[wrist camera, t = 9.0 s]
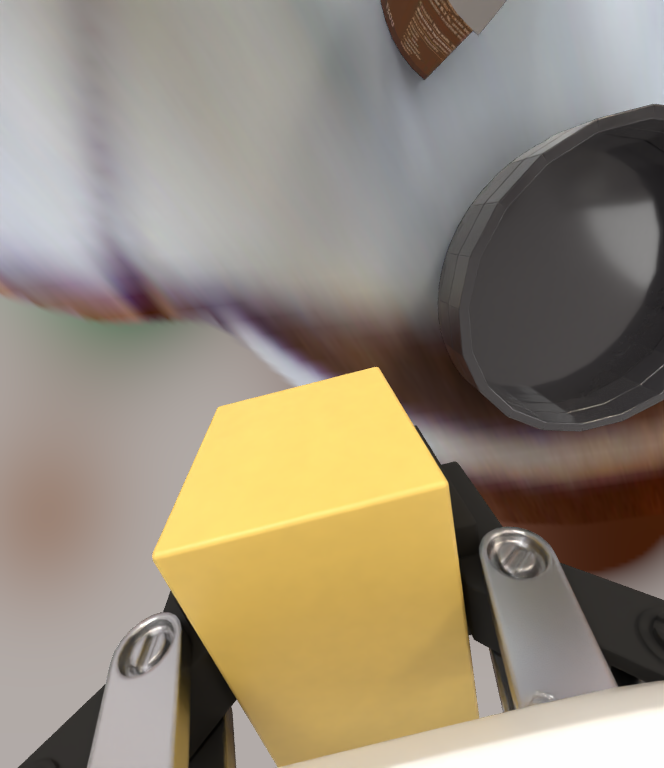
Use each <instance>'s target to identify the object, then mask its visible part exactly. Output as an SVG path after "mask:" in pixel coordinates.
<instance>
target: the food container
mask: <svg viewBox="0 0 664 768" xmlns="http://www.w3.org/2000/svg"><path fill="white" fill-rule="evenodd" d="M506 1H507V0H381V5H382V9H383V13H384V17H385V21H386V23H387V26H388V28H389V31H390V34H391V36H392V39H393V41H394V42H395V44H396V46H397V48H398V49H399V51H400V53H401V55H402V56H403V57H404V59H405V60H406V61H407V63H408V64H409V65H410V66H411V68H412V69H413V70H414V71H415V72H416V73H418V74H419V75H420V76H421V77H422V78H423V79H424V80H425V79H426V78H427V77H428V76H429V75H430V74H431V73H432V72H433V71H434V70H435V69H436V68H437V67H438V66H439V65H440V64H441V63H442V62H443V61H444V60H445V59H446V58H447V57H448V56H449V55H450V54H451V53H452V52H453V51H454V50H455V49H456V48H457V46H458V45H459V44H460V43H461V42H462V41H463V40H464V39H465V38H466V37H467V36H468V35H469V34H470V33H471V32H472V31H474V32H475V33H476V34H477V35H479V34H480V33H481V32H482V30H483V29H484V28H485V27H486V25H487V24H488V23H489V22H490V21H491V19H492V18H493V17H494V16H495V14H496V13H497V12H498V11H499V9H500V8H501V7H502V6H503V5H504V3H505V2H506Z"/></svg>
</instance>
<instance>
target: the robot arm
mask: <svg viewBox="0 0 664 768" xmlns="http://www.w3.org/2000/svg"><path fill="white" fill-rule="evenodd" d="M414 427H415V428H416V430H417V432H418V433H419V435H420V437H421V438H422V440H423V442H424V443H425V445H426V447H427V448H428V450H429V452H430V453H431V455H432V457H433V458H434V460H435V461H436V463H437V465H438V466H439V468H440V470H441V471H442V473H443V475H444V476H445V478H446V480H447V481H448V483H449V491H450V498H451V506H452V513H453V521H454V529H455V536H456V544H457V552H458V559H459V567H460V574H461V582H462V590H463V597H464V605H465V612H466V620H467V628H468V635H472V636H473V638H474V640H476V641H478V642H480V643H481V644H483V645H485V646H487V647H489V651H490V655H491V660H492V664H493V669H494V673H495V677H496V682H497V687H498V691H499V696H500V700H501V705H502V709H503V713H500V714H495V715H491V716H487V717H483V718H479V719H474V720H470V721H466V722H462V723H458V724H454V725H449V726H445V727H441V728H437V729H433V730H429V731H424V732H420V733H416V734H412V735H408V736H404V737H400V738H395V739H391V740H387V741H383V742H379V743H375V744H371V745H367V746H363V747H359V748H355V749H351V750H347V751H342V752H338V753H334V754H330V755H326V756H322V757H318V758H314V759H310V760H306V761H302V762H298V763H294V764H290V765H286V766H282V767H278V768H664V600H662V599H659V598H657V597H654V596H651V595H648V594H645V593H643V592H640V591H637V590H634V589H632V588H629V587H626V586H623V585H621V584H618V583H615V582H612V581H609V580H607V579H604V578H601V577H598V576H596V575H593V574H590V573H587V572H585V571H582V570H579V569H576V568H573V567H571V566H568V565H565V564H562V563H560V562H559V561H558V559H557V557H556V555H555V552H554V551H553V549H552V548H551V546H550V545H549V544H548V543H547V542H546V541H545V540H544V539H542V538H541V537H540V536H538V535H537V534H535V533H533V532H531V531H529V530H525V529H522V528H518V527H502V525H501V524H500V522H499V521H498V519H497V518H496V517H495V515H494V514H493V512H492V511H491V509H490V508H489V507H488V505H487V504H486V502H485V501H484V499H483V498H482V497H481V495H480V494H479V492H478V491H477V489H476V488H475V487H474V485H473V484H472V482H471V481H470V479H469V478H468V477H467V475H466V474H465V472H464V471H463V469H462V468H461V467H460V465H459V464H458V463H457V462H451V463H447V464H443V465H441V464H440V462H439V461H438V459H437V458H436V456H435V454H434V453H433V451H432V449H431V448H430V446H429V445H428V443H427V441H426V440H425V438H424V437H423V435H422V433H421V432H420V430H419V428H418V427H417V426H414ZM236 700H237V699H236V697H235V695H234V694H233V692H232V690H231V689H230V687H229V685H228V684H227V682H226V680H225V679H224V677H223V676H222V674H221V672H220V671H219V669H218V667H217V666H216V664H215V662H214V661H213V659H212V657H211V656H210V654H209V652H208V651H207V649H206V647H205V646H204V644H203V642H202V641H201V639H200V637H199V636H198V634H197V632H196V631H195V629H194V628H193V626H192V624H191V623H190V621H189V619H188V618H187V616H186V614H185V613H184V611H183V609H182V608H181V606H180V604H179V603H178V601H177V599H176V598H175V596H174V594H173V593H172V591H170V594H169V597H168V600H167V603H166V606H165V608H164V611H163V612H161V613H157V614H154V615H151V616H150V617H148V618H146V619H144V620H143V621H141V622H139V623H138V624H137V625H136V626H135V627H133V628H132V629H131V630H130V631H129V632H128V633H127V635H126V636H125V637H124V638H123V639H122V640H121V642H120V644H119V645H118V647H117V648H116V650H115V652H114V655H113V657H112V660H111V663H110V667H109V672H108V676H107V680H106V684H105V685H104V686H103V687H102V688H101V689H100V690H99V691H98V692H97V693H96V694H95V695H94V696H93V697H91V699H89V700H88V701H87V702H86V703H85V704H84V705H83V706H82V707H81V708H80V709H79V710H78V711H77V712H76V713H75V714H74V715H73V716H72V717H71V718H69V719H68V720H67V721H66V722H65V723H64V724H63V725H62V726H61V727H60V728H59V729H58V730H57V731H56V732H55V733H54V734H53V735H52V736H51V737H50V738H49V739H48V740H46V741H45V742H44V743H43V744H42V745H41V746H40V747H39V748H38V749H37V750H36V751H35V752H34V753H33V754H32V755H31V756H30V757H29V758H28V759H27V760H26V761H25V762H24V763H22V764H21V765H20V766H19V767H18V768H236V759H235V744H234V730H233V714H232V708H231V706H232V705H233V703H234V702H235V701H236Z"/></svg>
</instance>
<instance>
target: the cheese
mask: <svg viewBox="0 0 664 768" xmlns="http://www.w3.org/2000/svg"><path fill="white" fill-rule="evenodd" d="M152 557H153V561H154V563H155V565H156V566H157V568H158V569H159V571H160V573H161V574H162V576H163V578H164V579H165V581H166V583H167V584H168V586H169V588H170V589H171V591H172V593H173V594H174V596H175V598H176V599H177V601H178V603H179V604H180V606H181V608H182V609H183V611H184V613H185V614H186V616H187V618H188V619H189V621H190V623H191V624H192V626H193V628H194V629H195V631H196V632H197V634H198V636H199V637H200V639H201V641H202V642H203V644H204V646H205V647H206V649H207V651H208V652H209V654H210V656H211V657H212V659H213V661H214V662H215V664H216V666H217V667H218V669H219V671H220V672H221V674H222V676H223V677H224V679H225V680H226V682H227V684H228V685H229V687H230V689H231V690H232V692H233V694H234V695H235V697H236V699H237V700H238V702H239V704H240V705H241V707H242V708H243V710H244V712H245V714H246V715H247V717H248V718H249V720H250V722H251V723H252V725H253V727H254V728H255V730H256V732H257V733H258V735H259V737H260V738H261V740H262V742H263V743H264V745H265V747H266V748H267V750H268V752H269V753H270V755H271V757H272V758H273V760H274V762H275V763H276V765H277V766H278V767H282V766H286V765H290V764H294V763H298V762H302V761H306V760H310V759H314V758H318V757H322V756H326V755H330V754H334V753H338V752H342V751H347V750H351V749H355V748H359V747H363V746H367V745H371V744H375V743H379V742H383V741H387V740H391V739H395V738H400V737H404V736H408V735H412V734H416V733H420V732H424V731H429V730H433V729H437V728H441V727H445V726H449V725H454V724H458V723H462V722H466V721H470V720H474V719H479V712H478V704H477V696H476V689H475V681H474V674H473V666H472V658H471V651H470V643H469V635H468V628H467V620H466V612H465V605H464V597H463V590H462V582H461V574H460V567H459V559H458V552H457V544H456V536H455V529H454V521H453V513H452V506H451V498H450V491H449V483H448V481H447V480H446V478H445V476H444V475H443V473H442V471H441V470H440V468H439V466H438V465H437V463H436V461H435V460H434V458H433V457H432V455H431V453H430V452H429V450H428V448H427V447H426V445H425V443H424V442H423V440H422V438H421V437H420V435H419V433H418V432H417V430H416V428H415V427H414V425H413V423H412V422H411V420H410V419H409V417H408V415H407V414H406V412H405V410H404V409H403V407H402V405H401V404H400V402H399V400H398V399H397V397H396V395H395V394H394V392H393V390H392V389H391V387H390V385H389V384H388V382H387V381H386V379H385V377H384V376H383V374H382V372H381V371H380V369H379V368H378V367H373V368H369V369H365V370H361V371H358V372H354V373H350V374H346V375H342V376H338V377H334V378H330V379H326V380H322V381H318V382H314V383H310V384H306V385H302V386H298V387H294V388H291V389H287V390H283V391H279V392H275V393H271V394H267V395H263V396H259V397H255V398H251V399H248V400H243V401H240V402H235V403H232V404H228V405H224V406H220V407H218V408H217V410H216V413H215V415H214V417H213V419H212V421H211V424H210V426H209V428H208V430H207V433H206V435H205V437H204V439H203V442H202V444H201V446H200V448H199V451H198V453H197V455H196V457H195V460H194V462H193V464H192V466H191V469H190V471H189V473H188V475H187V478H186V480H185V482H184V484H183V486H182V489H181V491H180V493H179V496H178V498H177V500H176V502H175V504H174V507H173V509H172V511H171V514H170V516H169V518H168V520H167V523H166V525H165V527H164V529H163V531H162V534H161V536H160V538H159V540H158V543H157V545H156V547H155V549H154V552H153V556H152Z"/></svg>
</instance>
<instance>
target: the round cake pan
mask: <svg viewBox="0 0 664 768" xmlns="http://www.w3.org/2000/svg"><path fill="white" fill-rule="evenodd" d="M438 315H439V324H440V329H441V334H442V338H443V341H444V344H445V347H446V350H447V352H448V354H449V356H450V358H451V360H452V362H453V364H454V365H455V366H456V368H457V369H458V371H459V373H460V374H461V376H462V377H463V378H465V379H466V380H467V381H468V382H469V383H470V384H471V385H472V386H473V387H474V388H476V389H477V390H478V391H479V392H480V393H481V394H482V395H483V396H484V397H485V398H487V399H488V400H489V401H490V402H491V403H492V404H493V405H494V406H496V407H497V408H498V409H499V410H500V411H501V412H502V413H503V414H505V415H506V416H507V417H509V418H511V419H514V420H517V421H519V422H522V423H525V424H527V425H530V426H533V427H535V428H538V429H541V430H557V431H585V430H589V429H593V428H597V427H601V426H605V425H609V424H613V423H617V422H621V421H624V420H626V419H628V418H630V417H632V416H633V415H635V414H637V413H639V412H641V411H643V410H645V409H647V408H649V407H651V406H653V405H655V404H657V403H659V402H661V401H663V399H664V105H660V104H651V105H647V106H643V107H639V108H636V109H632V110H628V111H624V112H620V113H616V114H612V115H608V116H605V117H601V118H597V119H594V120H592V121H589V122H586V123H584V124H581V125H578V126H576V127H573V128H570V129H568V130H565V131H562V132H560V133H557V134H555V135H553V136H552V137H550V138H549V139H547V140H546V141H544V142H542V143H540V144H538V145H536V146H534V147H532V148H531V149H529V150H528V151H526V152H525V153H523V154H522V155H520V156H519V157H517V158H516V159H515V160H513V161H512V162H511V163H510V164H509V165H507V166H506V167H505V168H504V169H503V170H502V171H500V172H499V173H498V174H497V175H496V176H495V177H494V178H493V179H492V180H491V182H490V183H489V184H488V185H487V186H486V187H485V188H484V189H483V190H482V191H481V193H480V194H479V195H478V197H477V198H476V199H475V201H474V202H473V203H472V205H471V206H470V207H469V209H468V211H467V212H466V214H465V216H464V217H463V219H462V221H461V222H460V224H459V226H458V228H457V230H456V232H455V234H454V237H453V239H452V241H451V243H450V245H449V248H448V251H447V254H446V258H445V261H444V264H443V268H442V273H441V278H440V283H439V294H438Z"/></svg>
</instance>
